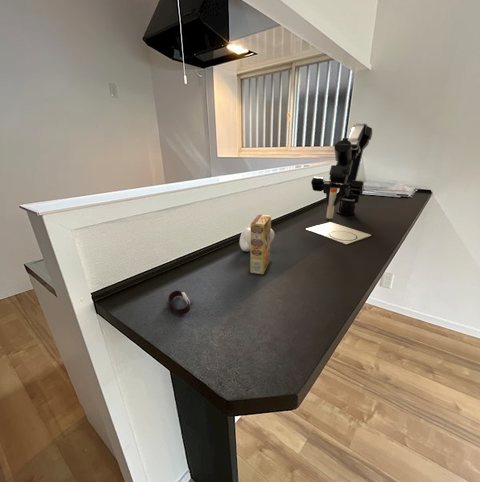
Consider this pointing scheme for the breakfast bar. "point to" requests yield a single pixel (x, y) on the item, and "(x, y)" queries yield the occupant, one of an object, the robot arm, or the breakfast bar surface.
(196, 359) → the breakfast bar surface
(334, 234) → the sketch pad
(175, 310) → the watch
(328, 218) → the marker
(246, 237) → the white rounded lump
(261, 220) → the candy box
